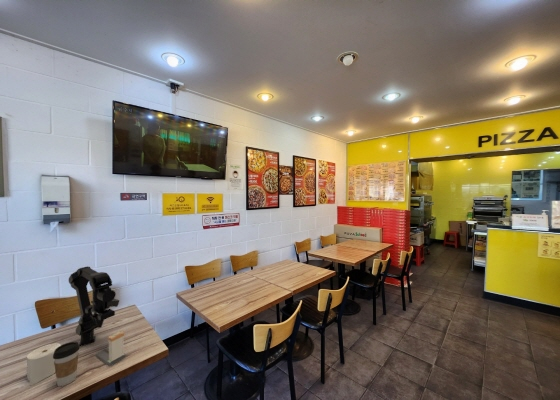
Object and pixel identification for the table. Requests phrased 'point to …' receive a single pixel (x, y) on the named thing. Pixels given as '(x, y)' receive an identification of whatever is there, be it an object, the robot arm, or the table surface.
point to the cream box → (116, 345)
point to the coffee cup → (66, 362)
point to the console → (104, 357)
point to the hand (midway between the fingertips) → (100, 327)
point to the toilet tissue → (41, 363)
